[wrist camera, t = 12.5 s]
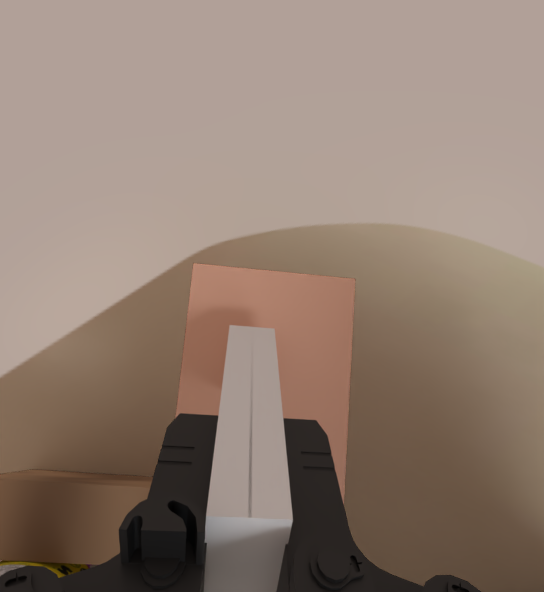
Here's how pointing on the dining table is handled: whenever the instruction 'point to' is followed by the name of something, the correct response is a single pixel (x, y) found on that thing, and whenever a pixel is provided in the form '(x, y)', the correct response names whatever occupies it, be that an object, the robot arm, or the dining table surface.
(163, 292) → the dining table surface
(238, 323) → the flat salmon pink panel
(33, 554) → the brown rectangular block
